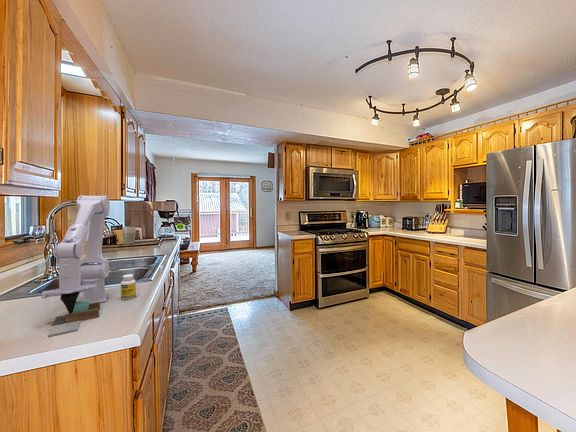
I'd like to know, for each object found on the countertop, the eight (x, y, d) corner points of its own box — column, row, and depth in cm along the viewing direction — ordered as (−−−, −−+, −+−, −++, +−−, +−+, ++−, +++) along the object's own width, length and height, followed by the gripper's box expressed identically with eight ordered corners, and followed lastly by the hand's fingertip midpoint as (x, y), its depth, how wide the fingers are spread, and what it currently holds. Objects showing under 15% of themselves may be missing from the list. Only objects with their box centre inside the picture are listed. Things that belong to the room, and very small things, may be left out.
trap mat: (56, 317, 89) (56, 316, 89) (67, 315, 91) (67, 314, 91) (51, 326, 83) (51, 324, 83) (63, 323, 85) (63, 322, 85)
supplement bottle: (119, 301, 105) (119, 278, 104) (122, 296, 109) (121, 274, 109) (134, 299, 107) (134, 276, 106) (136, 294, 112) (136, 273, 111)
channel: (69, 314, 92) (69, 306, 91) (100, 309, 97) (99, 301, 96) (65, 323, 85) (65, 315, 85) (98, 317, 90) (98, 309, 90)
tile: (53, 327, 82) (52, 325, 82) (80, 322, 86) (80, 320, 86) (47, 337, 77) (47, 335, 77) (77, 330, 81) (77, 328, 80)
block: (71, 315, 90) (75, 300, 90) (85, 315, 92) (89, 301, 93) (70, 319, 87) (75, 304, 87) (84, 318, 89) (89, 304, 90)
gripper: (38, 282, 80) (39, 323, 81) (95, 275, 88) (96, 313, 89) (44, 277, 86) (45, 315, 87) (96, 271, 94) (97, 306, 95)
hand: (71, 314), depth 88 cm, fingers closed, pressing on block
